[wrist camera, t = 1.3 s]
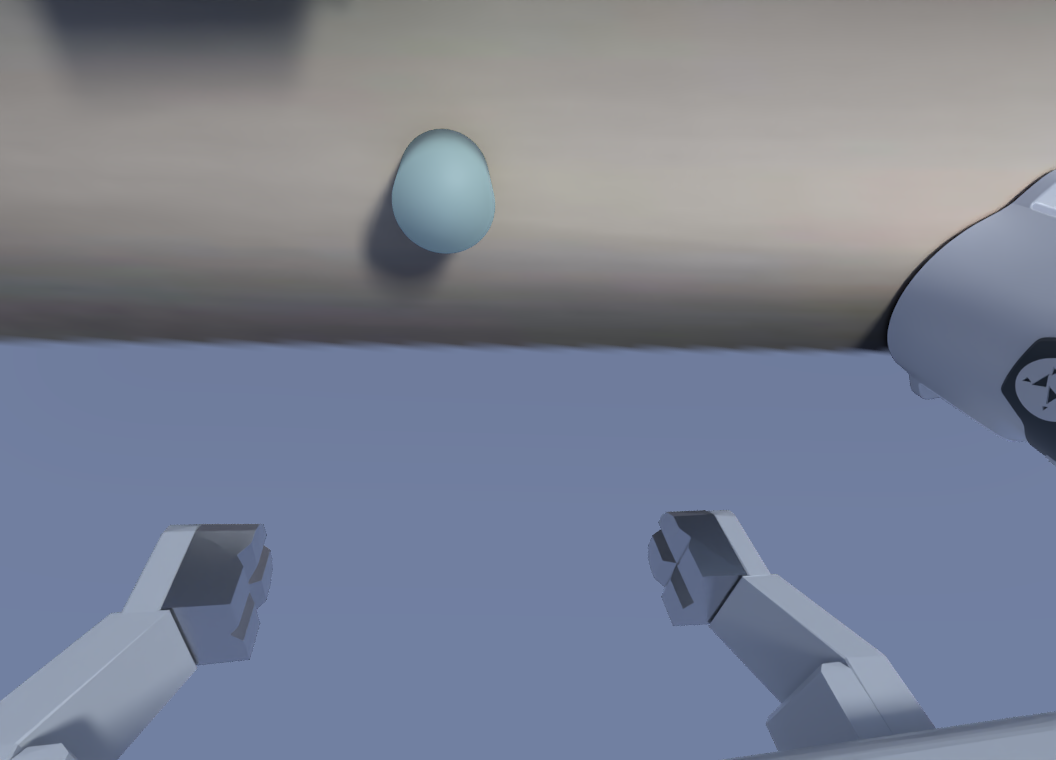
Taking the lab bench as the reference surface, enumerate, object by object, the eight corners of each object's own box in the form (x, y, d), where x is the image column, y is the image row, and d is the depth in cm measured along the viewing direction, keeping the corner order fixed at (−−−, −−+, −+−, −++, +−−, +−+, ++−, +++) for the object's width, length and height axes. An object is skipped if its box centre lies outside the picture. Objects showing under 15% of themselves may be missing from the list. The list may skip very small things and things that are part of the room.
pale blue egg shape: (488, 128, 27) (494, 150, 23) (489, 219, 30) (495, 252, 26) (394, 128, 27) (384, 150, 23) (405, 220, 30) (398, 254, 26)
